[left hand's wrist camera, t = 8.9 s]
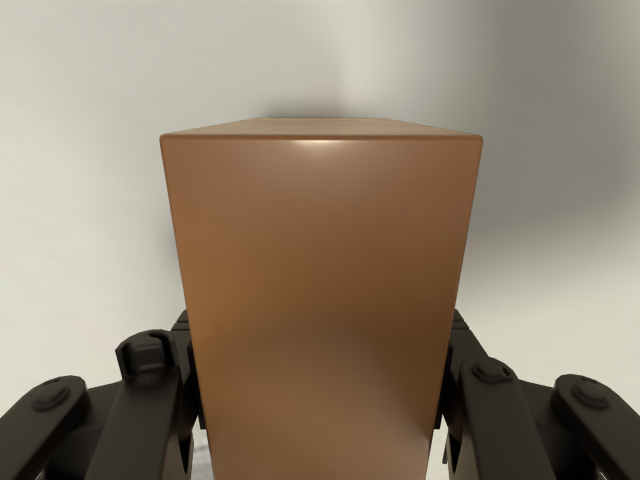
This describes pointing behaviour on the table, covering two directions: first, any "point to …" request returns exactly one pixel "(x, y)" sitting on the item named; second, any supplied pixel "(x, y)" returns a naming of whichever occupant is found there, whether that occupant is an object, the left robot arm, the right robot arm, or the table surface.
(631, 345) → the table surface
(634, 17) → the table surface
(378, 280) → the post
